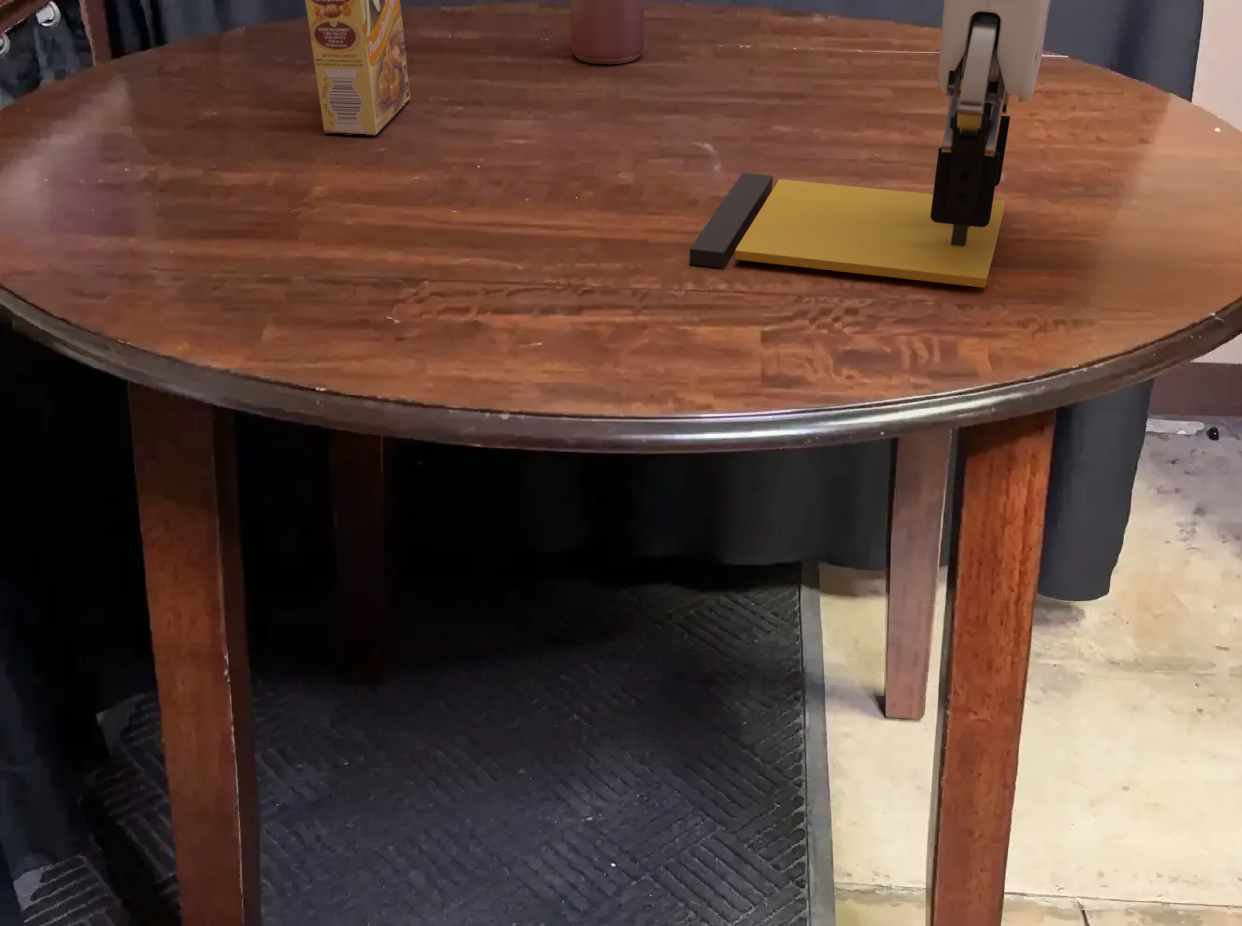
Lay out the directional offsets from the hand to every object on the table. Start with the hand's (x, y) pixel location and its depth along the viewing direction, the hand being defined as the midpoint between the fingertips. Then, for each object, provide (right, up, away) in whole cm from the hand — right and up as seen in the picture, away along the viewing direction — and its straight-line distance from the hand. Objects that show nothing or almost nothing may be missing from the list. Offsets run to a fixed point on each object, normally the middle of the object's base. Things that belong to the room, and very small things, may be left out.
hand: (966, 199), depth 80 cm
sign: (-5, -1, +3) cm, 6 cm away
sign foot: (-13, 0, +5) cm, 14 cm away
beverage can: (-21, +21, +35) cm, 46 cm away
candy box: (-38, +12, +23) cm, 46 cm away
